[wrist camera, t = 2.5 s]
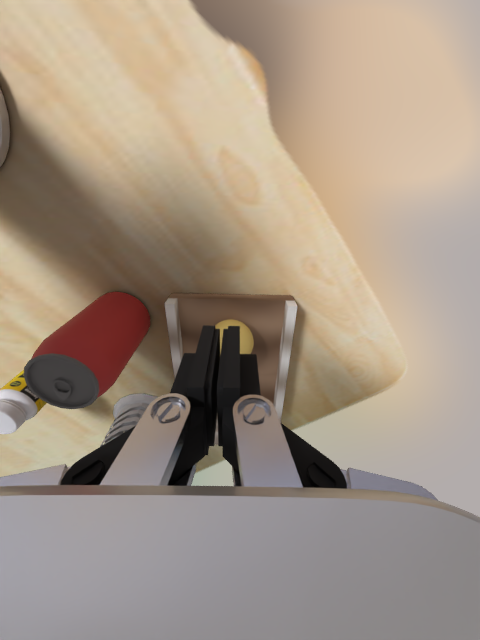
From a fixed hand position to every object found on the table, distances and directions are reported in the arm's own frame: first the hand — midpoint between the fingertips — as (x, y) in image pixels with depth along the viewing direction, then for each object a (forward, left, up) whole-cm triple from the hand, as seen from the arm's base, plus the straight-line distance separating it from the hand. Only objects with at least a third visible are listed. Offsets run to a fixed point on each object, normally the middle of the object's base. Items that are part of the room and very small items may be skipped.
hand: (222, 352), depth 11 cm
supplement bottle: (+16, -25, -17) cm, 34 cm away
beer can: (+7, -13, -17) cm, 23 cm away
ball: (+8, 0, -13) cm, 15 cm away
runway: (+14, 0, -17) cm, 22 cm away
